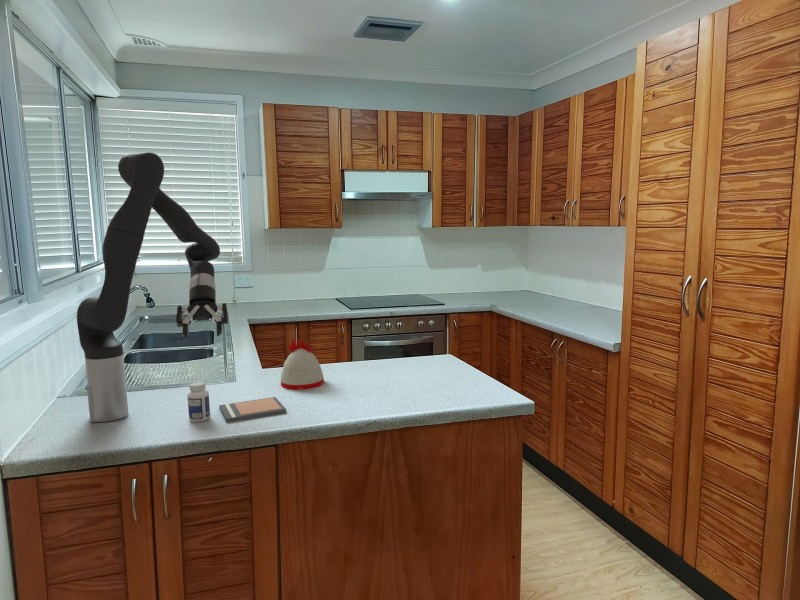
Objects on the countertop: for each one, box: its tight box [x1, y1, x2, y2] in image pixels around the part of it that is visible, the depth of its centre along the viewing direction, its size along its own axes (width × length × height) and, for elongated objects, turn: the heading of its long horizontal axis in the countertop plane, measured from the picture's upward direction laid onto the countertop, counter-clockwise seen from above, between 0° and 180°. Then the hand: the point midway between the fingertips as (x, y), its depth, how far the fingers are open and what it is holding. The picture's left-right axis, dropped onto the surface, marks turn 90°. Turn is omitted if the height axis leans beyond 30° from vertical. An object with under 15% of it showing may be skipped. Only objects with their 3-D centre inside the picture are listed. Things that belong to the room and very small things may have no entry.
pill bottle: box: [187, 381, 211, 423], centre depth 150 cm, size 5×5×10 cm
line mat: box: [218, 396, 287, 423], centre depth 156 cm, size 16×13×1 cm
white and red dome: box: [280, 338, 325, 391], centre depth 182 cm, size 14×14×15 cm
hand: (202, 335), depth 159 cm, fingers open, 8 cm apart
